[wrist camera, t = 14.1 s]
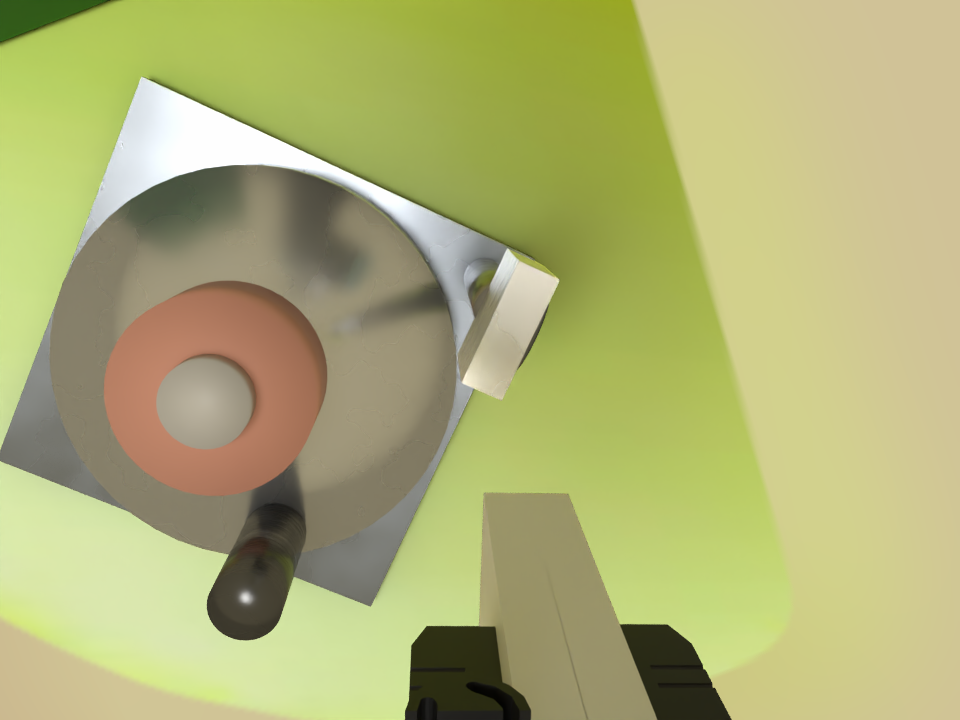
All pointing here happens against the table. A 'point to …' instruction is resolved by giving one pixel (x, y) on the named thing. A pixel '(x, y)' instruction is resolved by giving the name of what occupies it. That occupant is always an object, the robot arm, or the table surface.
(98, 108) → the table surface
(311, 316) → the turntable
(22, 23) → the clamp
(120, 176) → the turntable base
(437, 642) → the robot arm
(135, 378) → the cover
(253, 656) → the table surface
